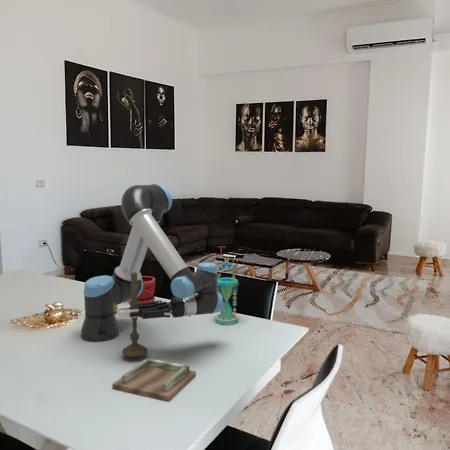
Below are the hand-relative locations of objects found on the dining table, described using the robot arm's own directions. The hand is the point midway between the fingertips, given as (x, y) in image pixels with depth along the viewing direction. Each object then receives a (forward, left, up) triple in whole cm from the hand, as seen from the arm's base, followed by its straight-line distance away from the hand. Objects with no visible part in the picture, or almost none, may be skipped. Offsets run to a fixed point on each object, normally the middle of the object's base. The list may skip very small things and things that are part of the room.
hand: (119, 313), depth 161 cm
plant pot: (-31, +63, -17) cm, 73 cm away
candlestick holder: (+4, +4, -15) cm, 16 cm away
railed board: (+21, -10, -17) cm, 28 cm away
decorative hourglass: (+20, +53, -17) cm, 59 cm away
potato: (-38, +42, -17) cm, 59 cm away
